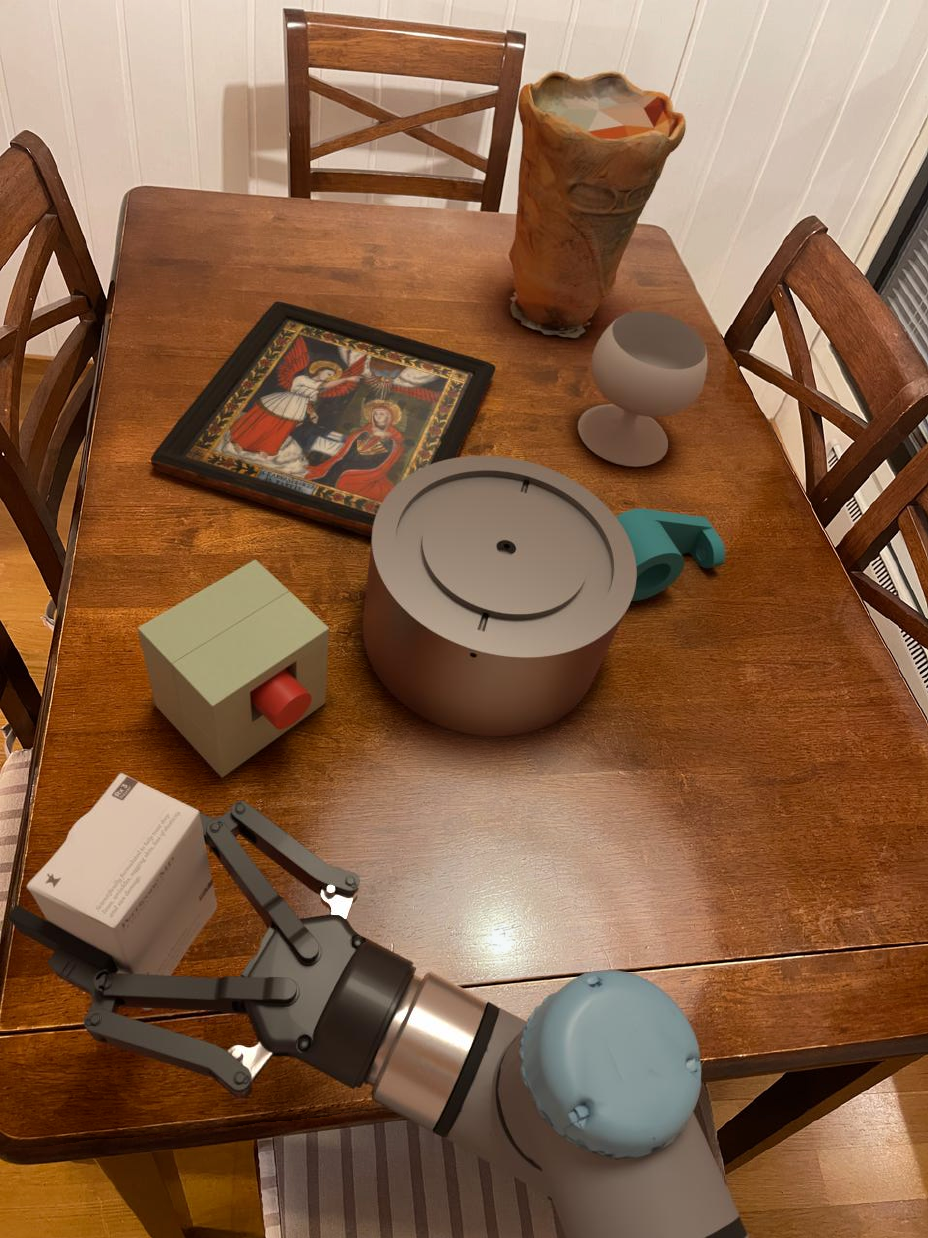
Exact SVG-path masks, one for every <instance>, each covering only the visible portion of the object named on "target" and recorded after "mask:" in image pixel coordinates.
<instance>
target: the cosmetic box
mask: <svg viewBox="0 0 928 1238" xmlns="http://www.w3.org/2000/svg"><path fill="white" fill-rule="evenodd" d="M199 812H200V811H199V809H197V808H194V807H193V806H191V805H189V804H186V803H184V802H182V801H181V800H178V799H176V798H174V797H172V796H170V795H168V794H165V793H163V792H161V791H159V790H157V789H155V788H152V787H150V786H148V785H147V784H144V783H142V782H141V781H139V780H137V779H135V778H133V777H131V776H128V775H127V774H125V773H123V772H120V773H118V775H117V776H116V777H115V778H114V780H113V781H112V783H110V785H109V786H108V787H107V789H106V790H105V791H104V793H103V794H102V795H101V796H100V798H98V800H97V802H96V803H94V805H93V806H92V808H91V809H90V810H89V811H88V812H87V813H85V814H84V815H83V816H81V817H80V818H79V819H78V820H77V821H76V822H75V823H74V824H73V825H72V827H71V828H70V830H69V831H68V833H67V836H66V838H65V840H64V842H63V843H62V844H61V845H60V847H59V848H58V849H57V850H56V851H55V853H53V855H52V856H51V858H50V859H49V860H48V861H47V862H46V863H45V864H44V865H43V866H42V867H41V869H39V871H38V872H37V873H35V875H34V876H33V877H32V878H31V879H30V880H29V882H28V883H27V885H26V889H27V890H28V891H29V892H30V894H31V896H32V897H33V899H34V901H35V902H36V904H37V906H38V907H39V909H40V911H41V912H42V914H43V916H44V918H45V920H46V921H48V922H49V923H51V924H53V925H55V926H57V927H59V928H60V929H62V930H64V931H66V932H68V933H69V934H71V935H73V936H75V937H77V938H79V939H80V940H82V941H84V942H86V943H88V944H90V945H91V946H93V947H95V948H97V949H99V950H101V951H102V952H104V953H106V954H108V955H110V956H111V957H112V959H113V961H114V963H115V965H116V967H117V969H118V971H117V973H123V974H144V975H165V976H172V974H173V973H174V971H175V969H176V968H177V966H178V965H179V963H180V962H181V960H182V959H183V957H184V956H185V955H186V953H187V951H188V950H189V948H190V947H191V945H192V944H193V942H194V941H195V940H196V938H197V937H198V936H199V934H200V933H201V931H202V930H203V929H204V927H205V926H206V924H207V923H208V922H209V920H210V919H211V918H212V916H213V915H214V913H216V911H217V908H218V902H217V897H216V891H215V887H214V882H213V877H212V872H211V867H210V861H209V857H208V851H207V845H206V844H205V841H204V835H203V829H202V824H201V819H200V813H199ZM142 1010H144V1011H151V1010H152V1008H142Z"/></svg>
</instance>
